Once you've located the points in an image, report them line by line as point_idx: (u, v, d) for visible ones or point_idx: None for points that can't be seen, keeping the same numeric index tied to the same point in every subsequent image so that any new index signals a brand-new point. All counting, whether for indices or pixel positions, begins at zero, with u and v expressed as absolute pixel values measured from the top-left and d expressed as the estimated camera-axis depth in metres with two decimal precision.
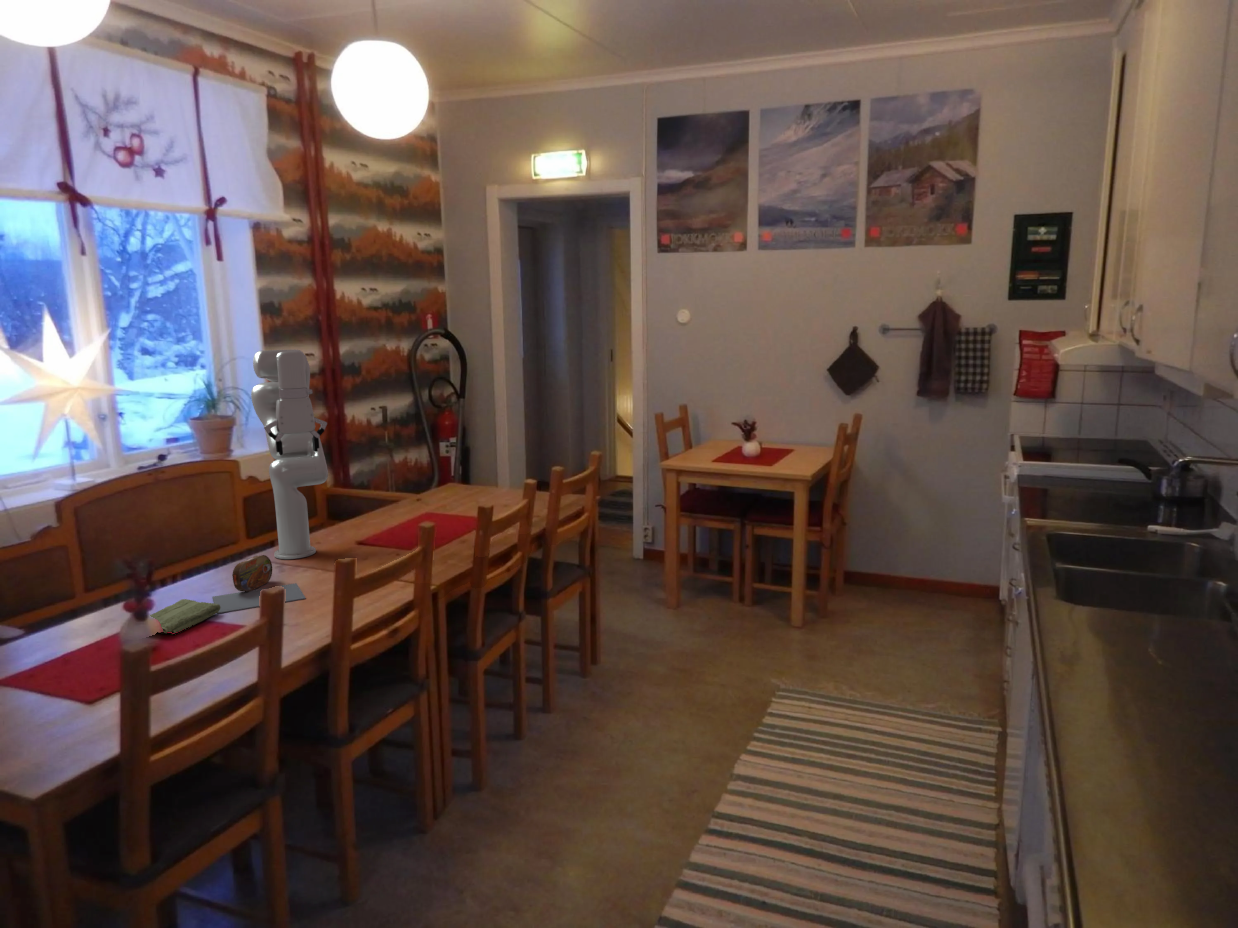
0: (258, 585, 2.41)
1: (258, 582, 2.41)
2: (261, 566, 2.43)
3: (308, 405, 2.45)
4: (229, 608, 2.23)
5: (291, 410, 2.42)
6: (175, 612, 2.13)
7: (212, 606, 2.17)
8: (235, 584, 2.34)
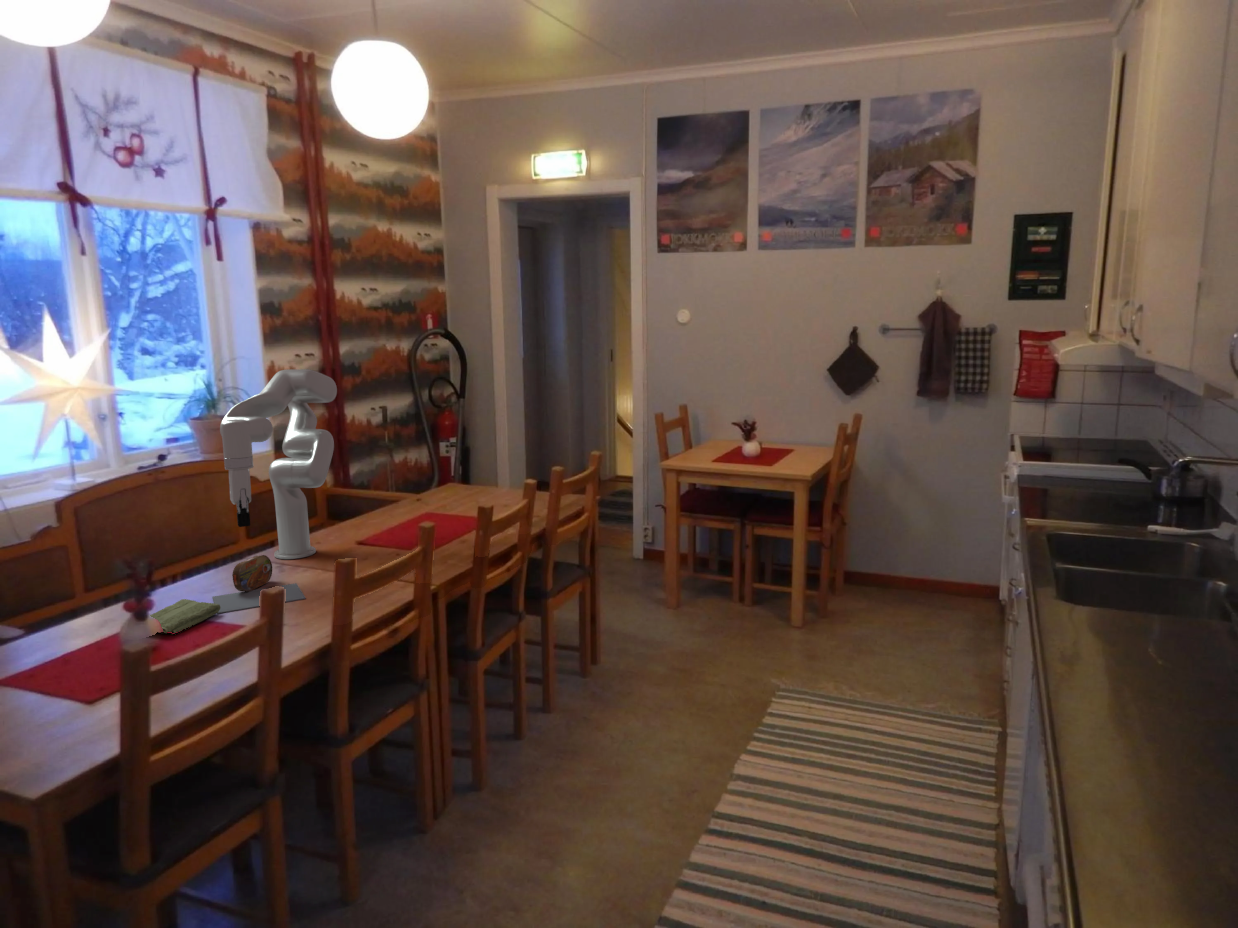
0: (258, 585, 2.41)
1: (258, 582, 2.41)
2: (261, 566, 2.43)
3: None
4: (229, 608, 2.23)
5: None
6: (175, 612, 2.13)
7: (212, 606, 2.17)
8: (235, 584, 2.34)
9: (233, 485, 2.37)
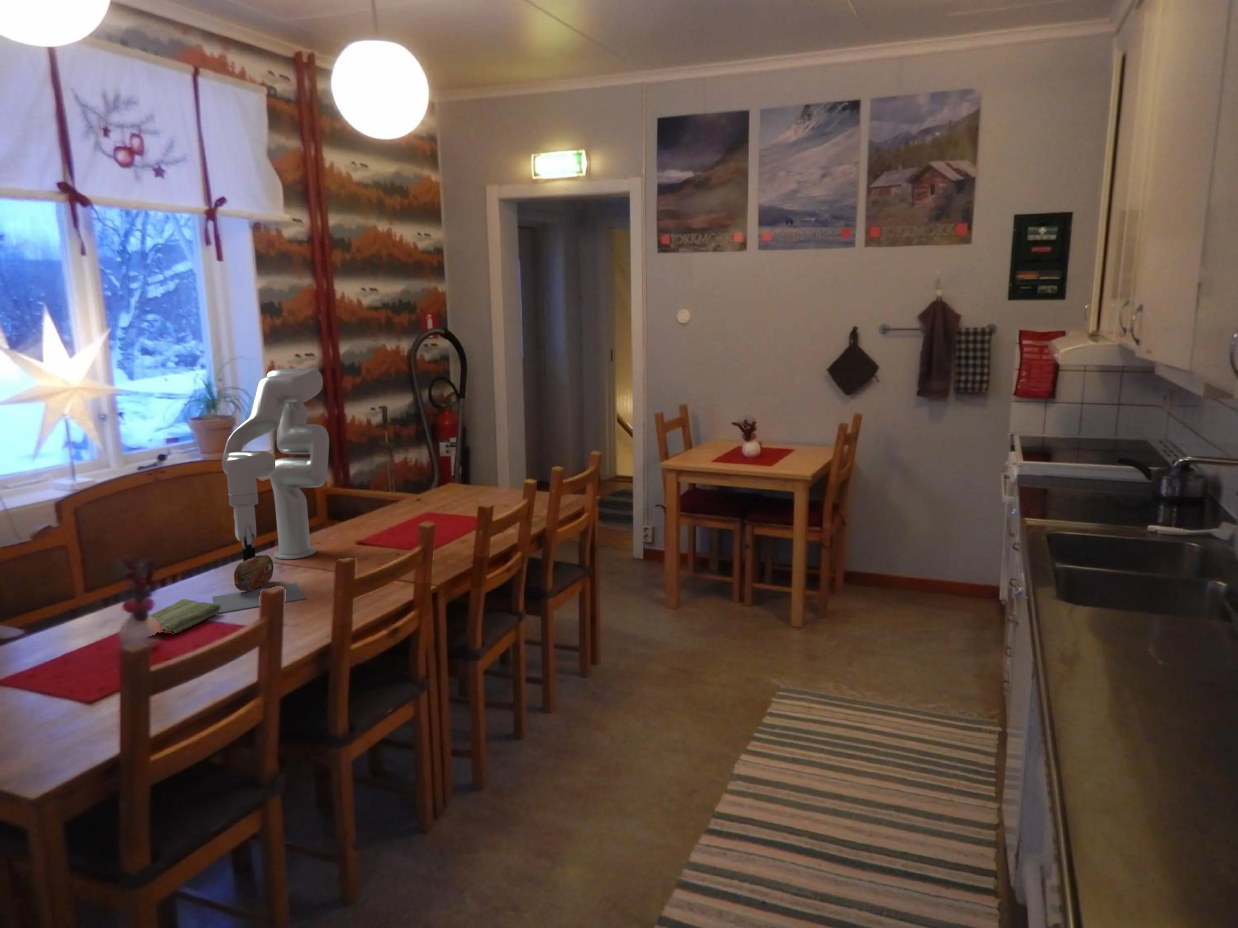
0: (258, 585, 2.41)
1: (258, 582, 2.41)
2: (263, 566, 2.43)
3: None
4: (229, 608, 2.23)
5: None
6: (175, 612, 2.13)
7: (212, 606, 2.17)
8: (236, 583, 2.33)
9: (238, 522, 2.36)
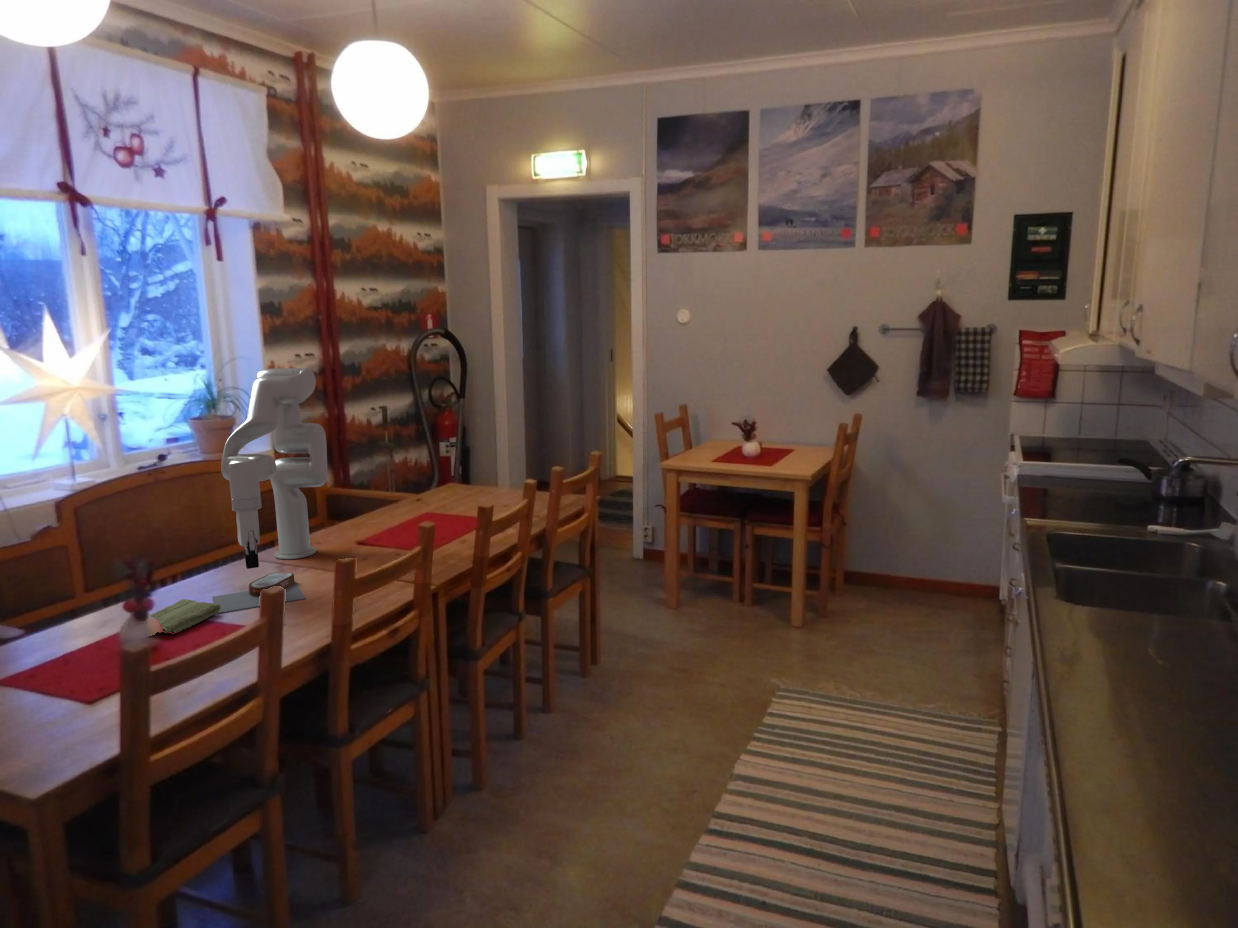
0: None
1: None
2: None
3: None
4: (229, 608, 2.23)
5: None
6: (175, 612, 2.13)
7: (212, 606, 2.17)
8: (252, 589, 2.33)
9: (241, 527, 2.30)
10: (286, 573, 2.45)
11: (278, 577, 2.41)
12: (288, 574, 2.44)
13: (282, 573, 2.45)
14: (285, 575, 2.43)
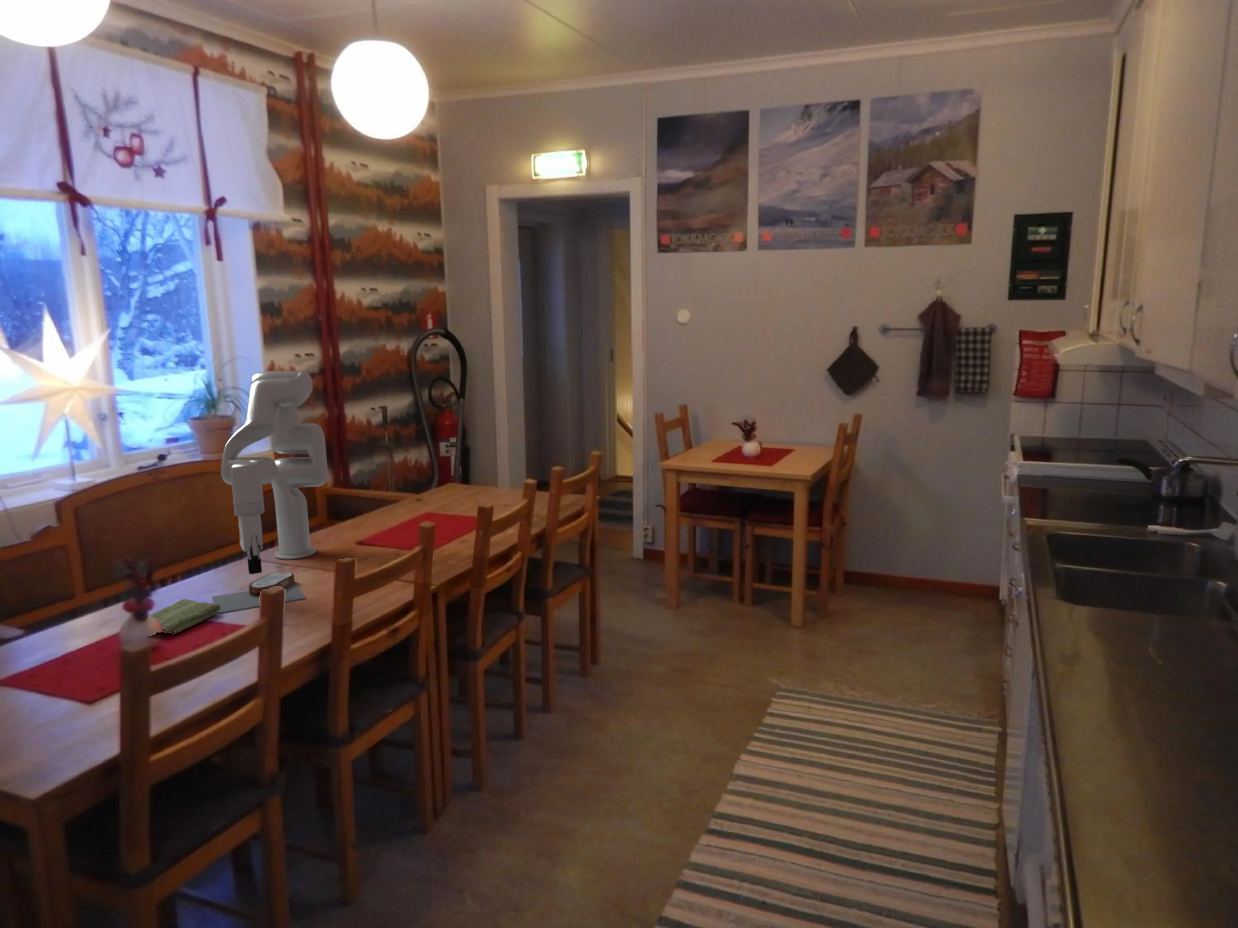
0: None
1: None
2: None
3: None
4: (229, 608, 2.23)
5: None
6: (175, 612, 2.13)
7: (212, 606, 2.17)
8: (252, 589, 2.33)
9: (244, 532, 2.26)
10: (286, 573, 2.45)
11: (278, 577, 2.41)
12: (288, 574, 2.44)
13: (282, 573, 2.45)
14: (285, 575, 2.43)
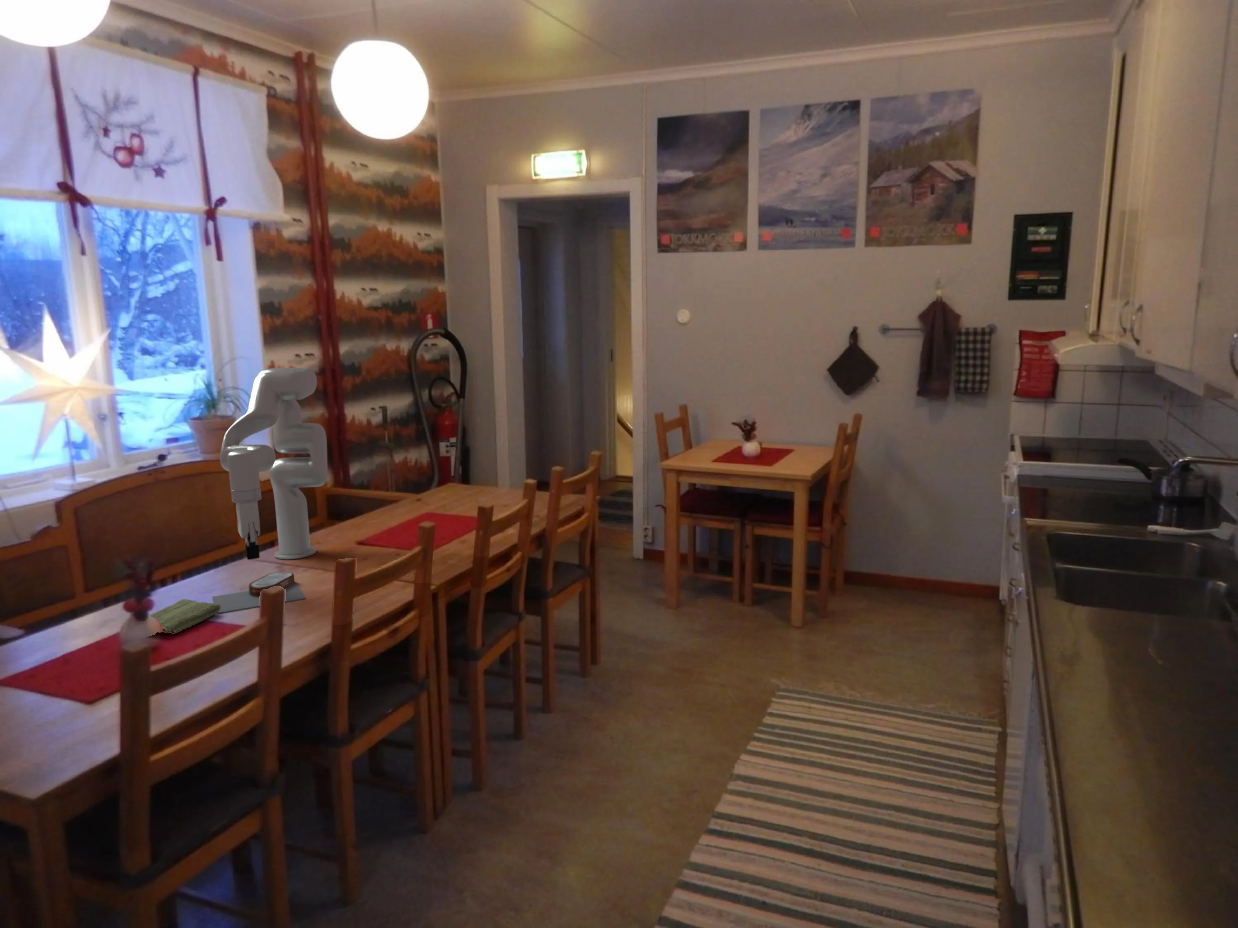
0: None
1: None
2: None
3: None
4: (229, 608, 2.23)
5: None
6: (175, 612, 2.13)
7: (212, 606, 2.17)
8: (252, 589, 2.33)
9: (241, 519, 2.30)
10: (286, 573, 2.45)
11: (278, 577, 2.41)
12: (288, 574, 2.44)
13: (282, 573, 2.45)
14: (285, 575, 2.43)
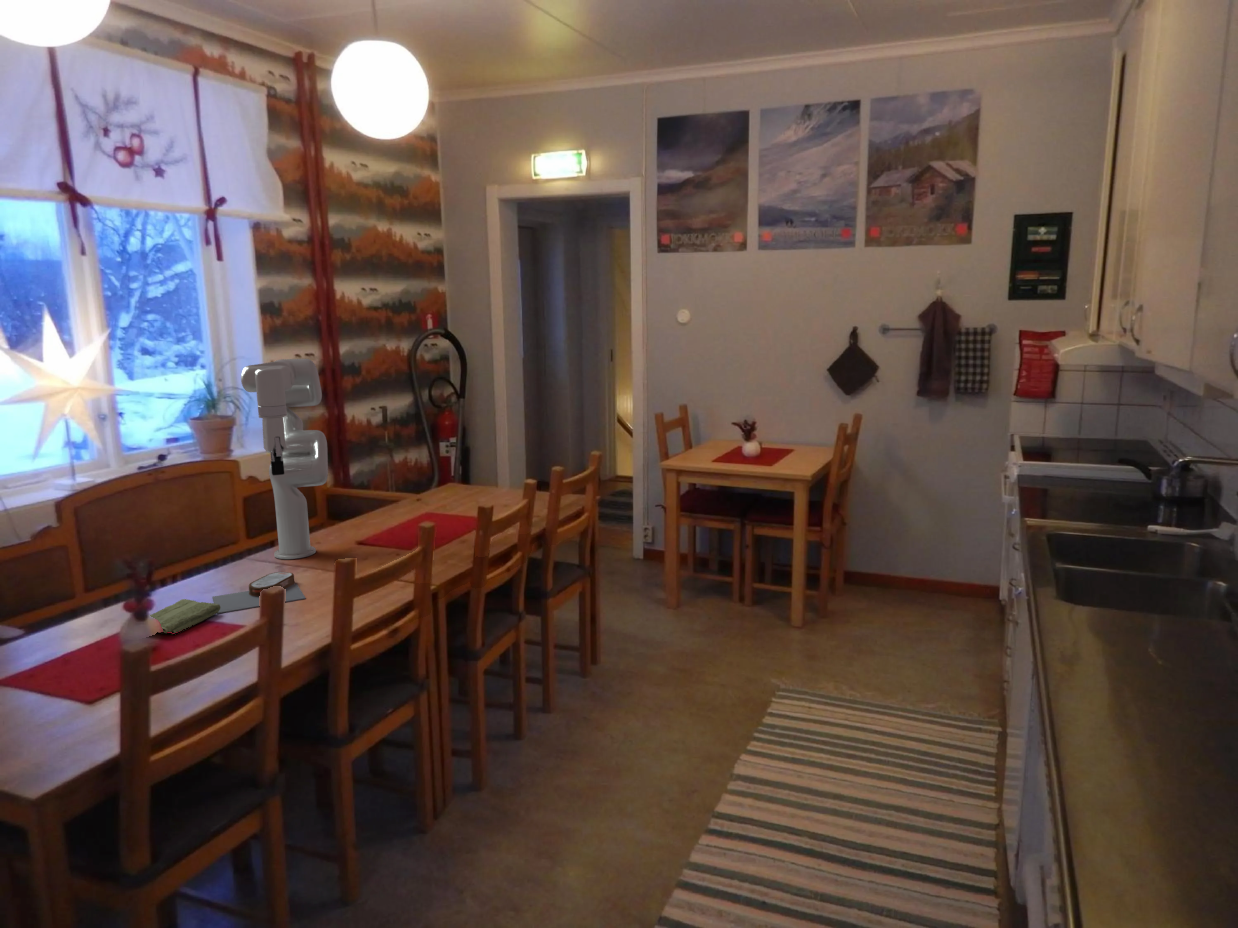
0: None
1: None
2: None
3: None
4: (229, 608, 2.23)
5: None
6: (175, 612, 2.13)
7: (212, 606, 2.17)
8: (252, 589, 2.33)
9: (267, 433, 2.38)
10: (286, 573, 2.45)
11: (278, 577, 2.41)
12: (288, 574, 2.44)
13: (282, 573, 2.45)
14: (285, 575, 2.43)
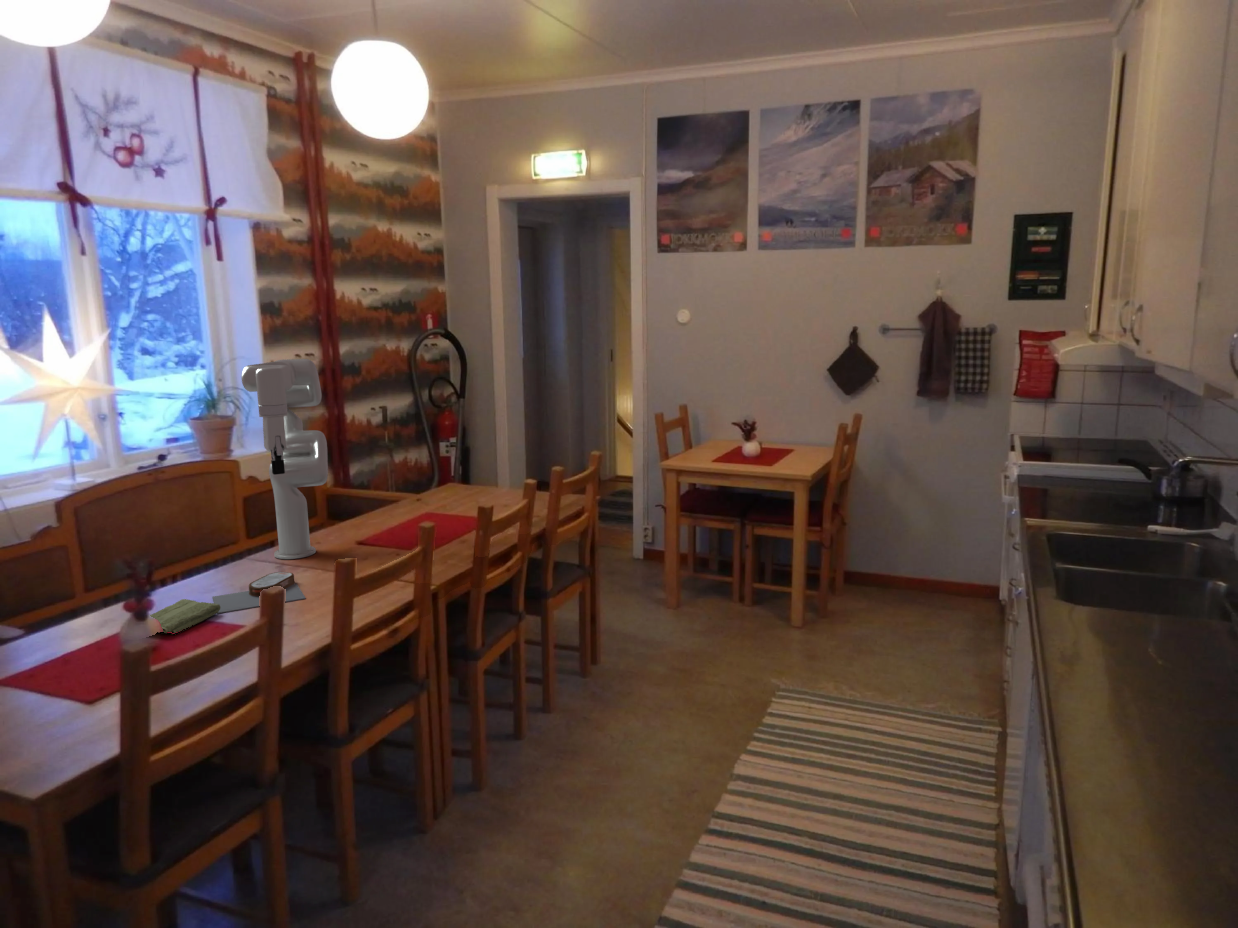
0: None
1: None
2: None
3: None
4: (229, 608, 2.23)
5: None
6: (175, 612, 2.13)
7: (212, 606, 2.17)
8: (252, 589, 2.33)
9: (268, 432, 2.38)
10: (286, 573, 2.45)
11: (278, 577, 2.41)
12: (288, 574, 2.44)
13: (282, 573, 2.45)
14: (285, 575, 2.43)
